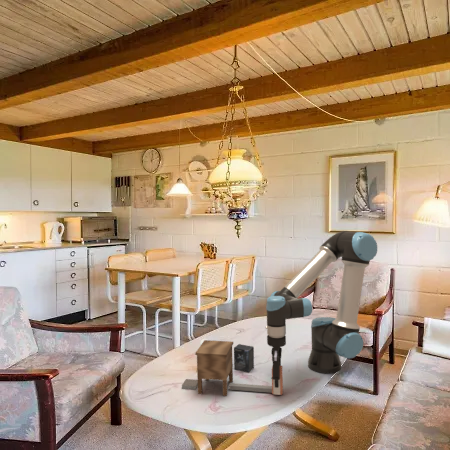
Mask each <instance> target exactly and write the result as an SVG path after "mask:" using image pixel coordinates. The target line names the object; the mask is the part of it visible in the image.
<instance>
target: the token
mask: <svg viewBox="0 0 450 450" xmlns="http://www.w3.org/2000/svg"><path fill="white" fill-rule="evenodd" d="M197 389H198V379H191V378H190V379H189V378H186V379H185V380H184V381H183V383H182V384H181V390H193V391H196V390H197Z"/></svg>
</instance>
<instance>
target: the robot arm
mask: <svg viewBox="0 0 450 450" xmlns="http://www.w3.org/2000/svg"><path fill="white" fill-rule="evenodd" d="M377 253H378V244H377V240H376V239H375V238H374V236H373V235H372V234H370V233H366V232H362V231H349V230H342V231H339V232H336V233H335V234H333V235H331V236H330V237H329V238H328V239H326V240H325V241H324V242H323V243H322V244H321V246H319V250H318V251H317V253H315V255H314V256H313V257H312V258H311V259H310V260H309V261H308V262H307V263H306V264H305V265H304V266H303V267H302V268H301V269H300V270H299V271H298V272H297V273H296V274H295V275H294V276H293V278H291V279H290V280H289V282H287V283H286V285H285V286H284V287H282V289H280V290H275V291H274V292H272V293H271V294H270V296H268V297H267V298H266V307H265V308H266V309H265V310H266V326H265V329H266V334H267V336H266V342H267V343H266V344H267V345H268V346H269V347H271V351H270V353H271V361H272V366H273V377H272V376H271V377H270V379H271V380H272V379H273V394H272V395H279V396H281V395H280V366H282V360H281V359H282V351H283V350H282V348H283V347H284V346H286V344H287V336H286V334H287V326H286V325H287V324H286V320H293V319H298V318H305V317H308V316H311V315H312V313H313V305H312V302H311V300H310V299H309V298H308V297H306V298H305V297H300V298H299V296H300V295H302V294H303V293H304V292H305V290H307V288H308V287H309V286H310V285H312V283H313V282H315V281H316V279H317V278H318V277H319V276H320V275H321V274H322V273H323V272H324V271H325V269H327V268H328V267H329V266H330V265H331V264H332V263H335V262H337V261H338V260H339V259H340V258H341V262H342V263H343V265H344V267H343V272H342V278H341V286H340V292H339V299H338V304H337V305H338V306H337V312H336V318H335V317H331V316H330V317H327V316H322V317H315V318H313V319H312V320H311V327H310V328H311V350H310V354H309V357H308V360H307V366H308V368H309V369H310V370H311V371H313V372H315V373H316V372H317V373H321V374H334V373H338V372H340V371H341V369H342V362H341V359H340V357H343V358H345V359H353V358H356V357H357V356H358V355H359V354H360V353H361V351H363V347H364V339H363V336H362V335H361V334H360V325H359V324H358V318H359V317H358V316H359V312H360V311H359V309H360V302H361V296H362V291H363V282H364V276H365V270H366V268H367V267H368V266H370V263H371V262H370V261H371V260H373V259H374V258H375V257H376V256H377ZM282 372H283V369H282Z"/></svg>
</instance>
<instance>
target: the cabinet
mask: <svg viewBox="0 0 450 450" xmlns="http://www.w3.org/2000/svg"><path fill="white" fill-rule="evenodd" d="M233 346H234V341H231V340H230V341H226V340H209V339H207V340H206V339H204V340H203V342H202V343H201V344H200V346H199V347H198V349H197V350H196V351H195V352H194V353H195V354H194V355H196V362H197V363H196V369H197V371H196V372H197V376H196V377H197V380H198V387H197V395H202V394H203V380H205V381H208V382H209V381H210V380H213V381H222V396H223V397H227V396H228V383H233V382H234V380H233V379H234V377H233V376H234V375H233V372H234V362H233Z"/></svg>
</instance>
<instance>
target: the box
mask: <svg viewBox="0 0 450 450" xmlns="http://www.w3.org/2000/svg"><path fill="white" fill-rule="evenodd" d="M254 349H255V348H254V346H252V345H246V344H241V343H239V344H237V345H235V346H234V347H233V370H237V371H242V372H246V373H250V372H251V371H252V370H253V369H254V368H255V357H254V356H255V354H254V353H255V351H254Z"/></svg>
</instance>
